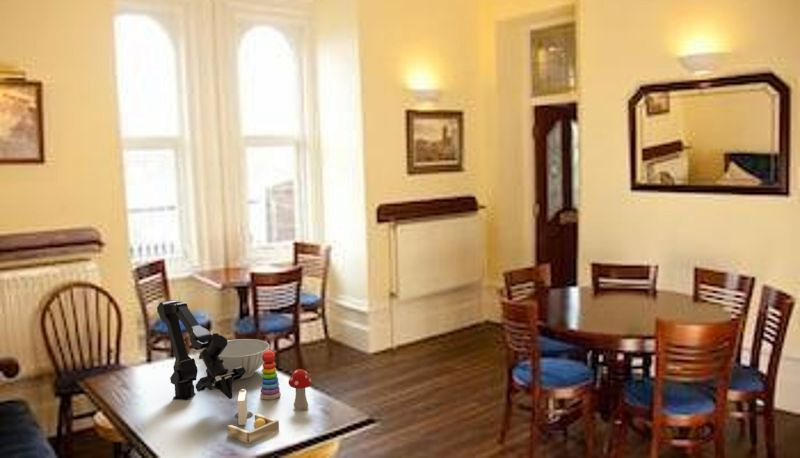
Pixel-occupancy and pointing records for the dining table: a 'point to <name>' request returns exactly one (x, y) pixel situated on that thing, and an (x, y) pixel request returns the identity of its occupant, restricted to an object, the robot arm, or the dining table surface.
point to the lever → (242, 407)
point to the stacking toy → (269, 377)
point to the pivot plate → (247, 414)
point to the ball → (259, 423)
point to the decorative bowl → (244, 355)
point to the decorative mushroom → (300, 388)
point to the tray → (255, 434)
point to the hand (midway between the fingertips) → (231, 398)
